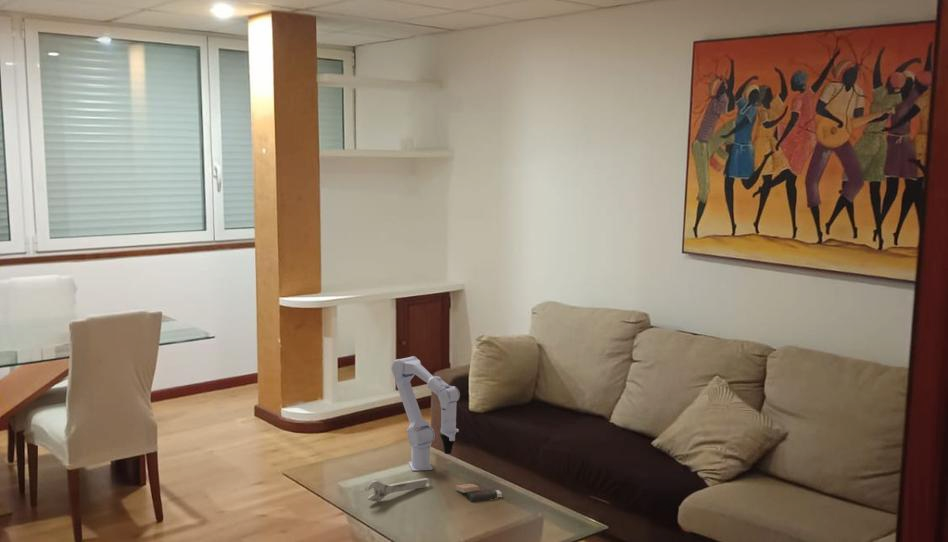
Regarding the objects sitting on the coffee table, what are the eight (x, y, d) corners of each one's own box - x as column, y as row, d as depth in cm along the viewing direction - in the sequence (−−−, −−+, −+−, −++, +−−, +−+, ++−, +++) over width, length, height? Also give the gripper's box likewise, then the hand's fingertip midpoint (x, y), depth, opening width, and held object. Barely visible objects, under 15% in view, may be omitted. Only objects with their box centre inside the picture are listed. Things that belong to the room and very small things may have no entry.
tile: (455, 485, 300) (463, 488, 293) (470, 483, 302) (478, 486, 295) (455, 489, 300) (463, 492, 293) (470, 487, 302) (479, 490, 295)
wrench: (430, 493, 303) (366, 505, 282) (426, 492, 305) (362, 503, 283) (432, 472, 303) (368, 482, 282) (429, 470, 304) (365, 481, 283)
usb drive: (466, 498, 294) (466, 490, 293) (497, 494, 298) (497, 487, 298) (471, 503, 289) (471, 496, 289) (502, 499, 293) (503, 492, 293)
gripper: (463, 424, 304) (462, 459, 305) (454, 412, 317) (453, 446, 319) (444, 424, 302) (443, 460, 303) (436, 413, 316) (436, 447, 317)
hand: (447, 453), depth 311 cm, fingers closed
